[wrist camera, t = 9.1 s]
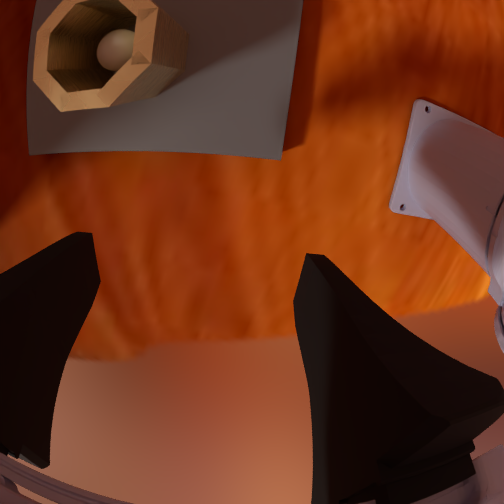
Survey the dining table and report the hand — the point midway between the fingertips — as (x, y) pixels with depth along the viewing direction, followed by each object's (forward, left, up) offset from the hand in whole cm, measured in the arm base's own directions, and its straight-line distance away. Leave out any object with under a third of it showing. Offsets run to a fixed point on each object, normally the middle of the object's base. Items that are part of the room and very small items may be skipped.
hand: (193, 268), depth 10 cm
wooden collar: (+5, -7, -8) cm, 12 cm away
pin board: (+5, -7, -9) cm, 13 cm away
